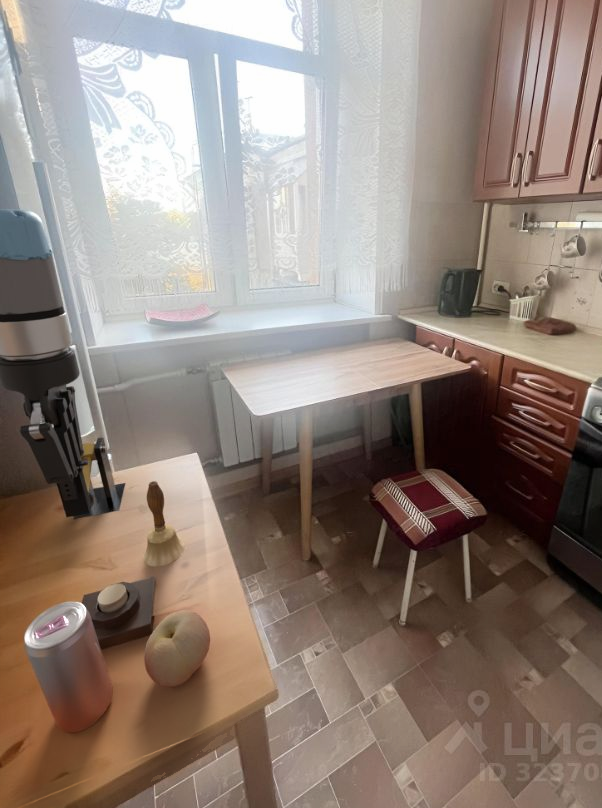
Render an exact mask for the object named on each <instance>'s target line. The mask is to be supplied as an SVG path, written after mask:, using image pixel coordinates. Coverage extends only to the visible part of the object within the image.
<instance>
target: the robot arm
mask: <svg viewBox="0 0 602 808" xmlns="http://www.w3.org/2000/svg"><path fill="white" fill-rule="evenodd" d="M53 253H54V252H53V248H52V246H51V245H50V243H49V240H48V236H47V233H46V230H45V227H44V223H43V220H42V219H41V217H40V216H39V215H38V214H37V213H35V212H34V211H32V210H29V209H28V210H27V209H12V208H11V209H10V208H0V385H1V386H2V387H3V388H4V389H5V390H7V391H9V392H16V393H20V394H22V395H23V396H24V397H23V399H24V402H23V404H22V405H23V407H22V408H23V411H24V414H25V416H26V417H28V419H29V422H30V423H29V424H25V425H21V426H20V429H19V433H20V435H21V437H22V438H23V439H24V440H25V441H26V442H27V443H28V446H29V447H30V449H31V451H32V453H33V455H34V458H35V460H36V461H37V464H38V466H39V468H40V471H41V473H42V475H43V477H44V480H45V482H46V483H47V485H54V484H56V487H57V490H58V493H59V496H60V500H61V504H62V507H63V511H64V513H65V514H64V515H65V518H71V517H74V516H77V515H83V514H88V513H90V511H91V508H92V505H91V501H90V497H89V494H88V490H87V486H86V482H85V478H84V474H83V471H82V468H79V467H80V466H86V465H88V459H83V460H81V456H83V454H84V450H83V445H82V444H83V439H82V433H81V428H80V422H79V415H78V411H77V405H76V404H77V403H76V388H75V387H74V385H73V386H68V385H69V384H71V383H73V382H75V381H76V380H78V378H79V377H80V368H79V364H78V360H77V356H76V352H75V351H76V350H75V349H73V348H72V347H70V346H72V344H73V343H74V341H73V337H72V333H71V328H70V325H69V320H68V317H67V313H66V311H65V307H64V302H63V298H62V292H61V288H60V284H59V279H58V275H57V270H56V266H55V262H54V261H55V260H54V256H53Z"/></svg>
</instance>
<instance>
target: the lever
mask: <svg viewBox="0 0 602 808" xmlns="http://www.w3.org/2000/svg"><path fill="white" fill-rule="evenodd" d="M95 444H96V442H87V443H82V445H83V450H84V454H83V456H81V458H82V460H83V459H88V465H86V466H83V474H84V478H85V482H86V486H87V490H88V494H89V497H90V501H91V505H92V507H93V505H94V504H95V497H94V495H93V494H92V493H90V492H89V485H90V478H91V476H92V475H91V474H92V465H93V461H97V460H96V456H95V452H94V447H95Z"/></svg>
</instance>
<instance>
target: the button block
mask: <svg viewBox="0 0 602 808" xmlns="http://www.w3.org/2000/svg"><path fill="white" fill-rule="evenodd" d="M113 584H114V583H113ZM113 584H111V585H113ZM115 584H123V585H124V586H125V588H126V591H127V595H128V599H127V602H126V603H125V605H124V606H123V607H121V608H120V609H118V610H116V611H114V612H110V613H104V612H102V611H101V610H100V607H99V603H98V596H99V594H100V593H101V591H102V590H104V589H105V588H103V589H101V590H97V591H94V592H90V593H86V594H83V597H82V600H81V602H80V603H81V604H83V605H84V606H85V608H86V610H88V612H89V613H90V616H91V619H92V623H93V626H94V629H95V632H96V636H97V639H98V642H99V645H100V648H101V651H102V650H105V649H109V648H113V647H115V646H118V645H122V644H126V643H128V642H131V641H135V640H138V639H141V638H144V637H148V636H151V634H152V633H153V631H154V626H155V624H154V623H155V615H154V607H155V595H156V584H157V583H156V577H155V576H151V577H147V578H144V579H140V580H136V581H132V582H128V581H121V582H116V583H115Z"/></svg>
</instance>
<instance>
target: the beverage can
mask: <svg viewBox="0 0 602 808" xmlns="http://www.w3.org/2000/svg"><path fill="white" fill-rule="evenodd" d="M81 603H82V602H80V601H65V602H61V603H58V604H55V605H53V606H51V607H49V608H47V609H45V610H44V611H43V612H41V613H40V614H39V615H37V616H36V617H35V618H34V619H33V620H32V621H31V623H30V624H29V625H28V626H27V628H26V630H25V632H24V636H23V637H24V638H23V641H24V650H25V653H26V655H27V658H28V660H29V663H30V665H31V667H32V669H33V673H34V675H35V677H36V679H37V682H38V684H39V686H40V689H41V691H42V692H41V693H42V694H43V696H44V698H45V701H46V703H47V706H48V708H49V710H50V714H51V715H52V718H53V720H54V722H55V726H56V727H57V728H58V730H59V731H61V732H65V733H77V732H80V731H83V730H86V729H87V728H89V727H91V726H92V725H94V724H95V723H97V721H98V720H100V718H101V717H102V716H103V715H104V713H105V712H106V711H107V709H108V707H109V705H110V704H111V701H112V698H113V694H114V689H113V688H114V687H113V684H112V681H111V677H110V675H109V671H108V667H107V666H106V662H105V659H104V655H103V652H102V650H101V648H100V645H99V642H98V639H97V636H96V632H95V629H94V626H93V623H92V619H91V616H90V613H89V612H88V610H86V608H85V606H84V605H83V604H81Z"/></svg>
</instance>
